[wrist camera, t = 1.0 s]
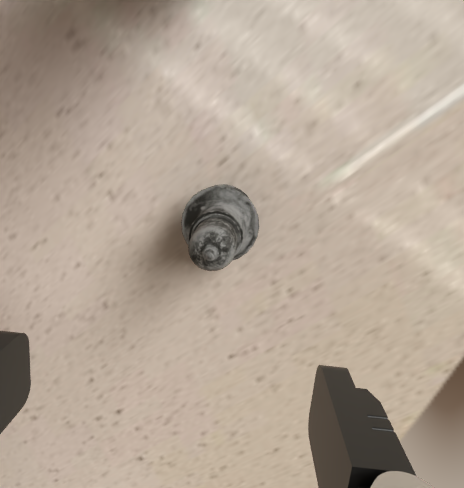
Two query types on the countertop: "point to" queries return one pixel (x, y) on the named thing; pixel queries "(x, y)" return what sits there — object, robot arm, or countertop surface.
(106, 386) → the countertop surface
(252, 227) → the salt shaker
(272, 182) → the countertop surface
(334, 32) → the countertop surface
